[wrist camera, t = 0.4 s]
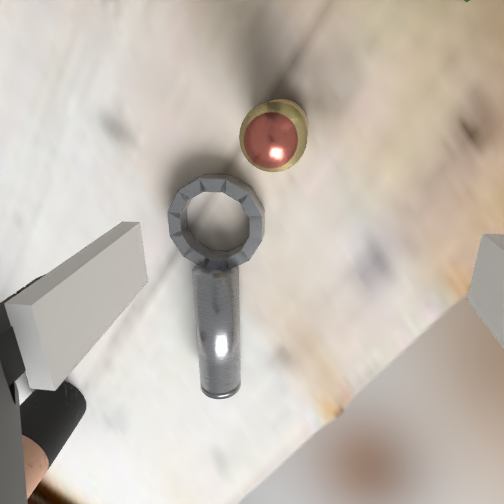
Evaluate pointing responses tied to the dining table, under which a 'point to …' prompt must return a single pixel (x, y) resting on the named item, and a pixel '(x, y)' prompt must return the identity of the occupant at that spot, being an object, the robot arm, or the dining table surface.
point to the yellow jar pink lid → (274, 135)
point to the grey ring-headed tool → (217, 282)
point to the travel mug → (47, 428)
